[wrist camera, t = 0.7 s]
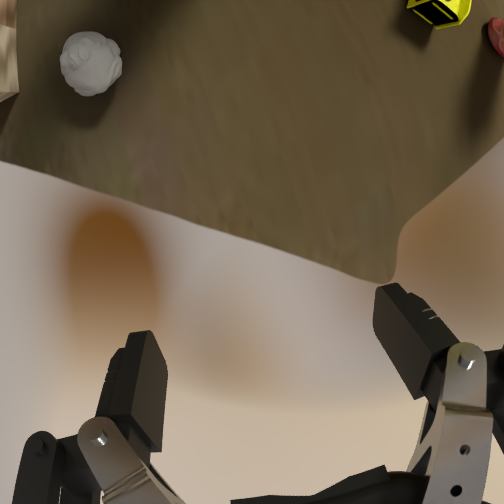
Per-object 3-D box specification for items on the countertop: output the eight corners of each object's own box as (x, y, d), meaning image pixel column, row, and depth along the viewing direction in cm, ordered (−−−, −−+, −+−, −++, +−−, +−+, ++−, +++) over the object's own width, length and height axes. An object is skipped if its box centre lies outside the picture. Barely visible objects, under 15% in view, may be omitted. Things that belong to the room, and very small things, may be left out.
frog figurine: (114, 30, 24) (92, 12, 17) (142, 77, 27) (123, 69, 20) (69, 62, 24) (38, 54, 18) (95, 110, 27) (67, 110, 21)
